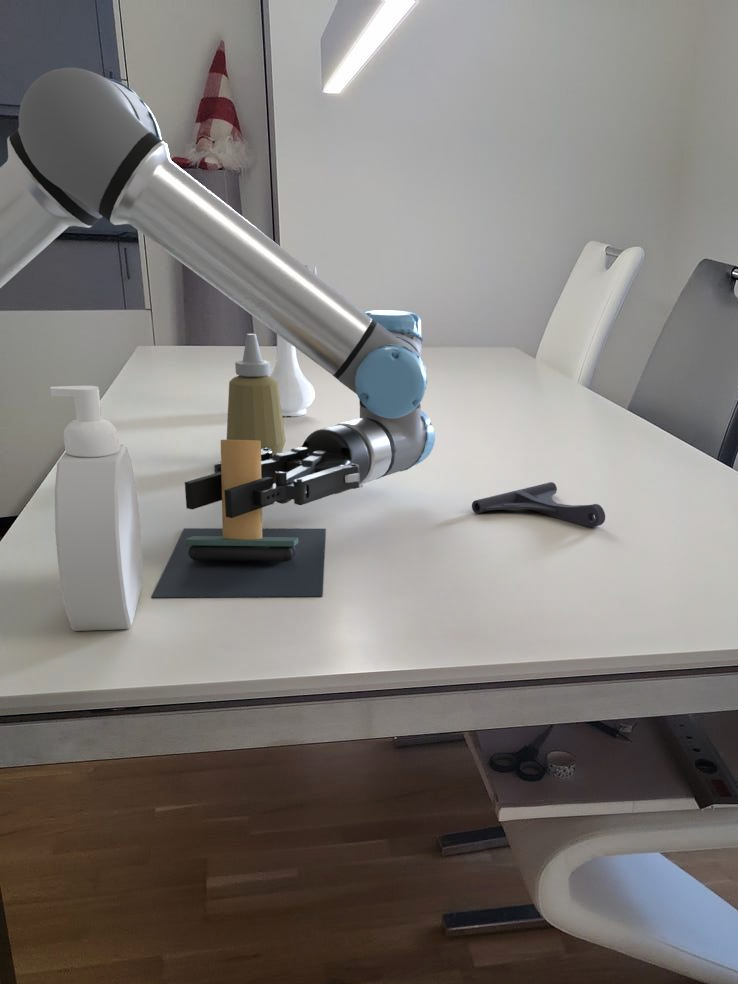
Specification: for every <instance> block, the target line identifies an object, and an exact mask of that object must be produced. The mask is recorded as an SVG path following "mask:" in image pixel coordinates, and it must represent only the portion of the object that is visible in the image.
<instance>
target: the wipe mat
mask: <svg viewBox="0 0 738 984" xmlns="http://www.w3.org/2000/svg"><path fill="white" fill-rule="evenodd" d="M326 531H327V528H279V527H278V528H267V527H266V528H265V527H264V528H263V527H262V537H298V543H297V544H296V545H295V546H294V547H295V549H296V553H295V556H294V557H293V558H292V559H291V560H289V561H206V560H193V559H191V558H190V557H189V555H188V550H189V548H190V547H191V546H193V545H184V540H185V539H187V538H190V537H192V536H223V527H221V528H217V527H216V528H215V527H213V528H211V527H209V528H207V527H205V528H203V527H202V528H201V527H200V528H199V527H197V528H195V527H193V528H191V527H190V528H189V527H187V528H186V527H185V528H183V529H182V532H181V534H180V535H179V538H178V540H177V542H176V544H175V546H174V549H173V550H172V553H171V555H170V557H169V558H168V561H167V563H166V565H165V568H164V569H163V571H162V573H161V576H160V578H159V580H158V581H157V584H156V586H155V589H154V591H153V592H152V595H151V599H198V598H199V599H200V598H201V599H204V598H205V599H209V598H210V599H212V598H215V599H216V598H219V599H220V598H223V599H224V598H323V595H324V593H323V592H324V573H325V553H326V552H325V551H326V536H327V535H326V533H327V532H326Z"/></svg>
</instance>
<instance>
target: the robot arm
mask: <svg viewBox="0 0 738 984" xmlns="http://www.w3.org/2000/svg"><path fill="white" fill-rule="evenodd" d="M6 143H7V156H8V157H7V161H5V163H3V164H2V165H1V166H0V289H2V287H3V286H5V285H6V284H7V283H8V282H10V280H11V279H12V278H14V277H15V276H16V275H17V274H18V273H19V272H20V271H21V270H22V269H24V267H26V266H27V265H28V264H30V262H31V261H32V260H34V259H35V258H36V257H37V256H38V255H39V254H40V253H41V252H42V251H44V250H45V249H46V248H47V247H48V246H49V245H50V244H51V243H52V242H53V241H54V240H56V239H57V238H58V237H59V236H60V235H61V234H63V232H64V231H66V230H67V229H68V228H69V227H80V228H87V229H89V228H92V227H93V226H94V225H95V224H97V222H98V221H99V220H101V219H102V218H104V219H105V220H107V221H108V222H109V223H111V224H112V225H114V226H119V225H130V226H132V227H133V228H134V229H136V230H137V231H138V232H139V233H141V234H142V235H144V236H145V237H146V238H148V239H149V240H150V241H152V242H153V243H155V245H157V246H158V247H160V248H161V249H163V250H164V251H165V252H166V253H168V254H169V255H170V256H172V257H173V258H175V260H177V261H178V262H180V263H181V264H183V265H184V266H186V268H188V269H189V270H191V271H192V272H193V273H195V274H196V275H197V276H199V277H200V278H201V279H203V280H204V281H206V282H207V283H208V284H209V285H211V286H212V287H213V288H215V289H216V290H217V291H219V292H220V293H222V294H223V295H224V296H226V297H227V298H228V299H229V300H231V301H232V302H233V303H235V304H236V305H238V306H239V307H240V308H242V309H243V310H244V311H246V312H247V313H248V314H250V315H251V316H252V317H253V318H255V319H256V320H257V321H259V322H260V323H262V324H263V325H264V326H266V327H267V328H269V329H270V330H271V331H272V332H274V334H276V335H277V334H278V335H279V336H281V337H282V338H283V339H285V340H286V341H287V342H289V343H290V344H291V345H293V346H294V347H295V348H296V350H298V351H300V352H301V353H302V354H304V356H306V357H307V358H309V359H310V360H312V361H313V362H314V363H316V364H317V365H319V366H320V367H321V368H322V369H323V370H325V371H326V372H328V373H329V375H331V376H333V377H334V378H335V379H336V380H337V381H338V382H340V383H341V384H343V386H345V387H346V388H347V389H349V390H350V391H352V392H353V393H354V394H356V395H357V398H358V399H359V418H355V419H351V420H347V421H343V422H340V423H337V424H335V425H331V426H327V427H324V428H320V429H316V430H314V431H313V432H311V433H310V434H309V435H308V436H307V437H306V438H305V440H304V442H303V444H302V445H301V446H299V447H293V448H291V450H289V451H284V452H283V451H282V453H277V454H274V455H273V452H271V449H270V448H264V449H261V479H258V480H255V481H252V482H249V483H246V484H242V485H239V486H236V487H233V488H230V489H226V490H224V493H225V509H226V517H229V518H234V517H237V516H240V515H242V514H245V513H248V512H251V511H254V510H257V509H260V508H262V509H263V508H265V507H268V506H271V505H274V504H275V503H278V504H281V505H283V504H287V503H289V502H290V501H292V500H293V504H294V505H297V506H303V505H307V504H309V503H311V502H316V501H318V500H321V499H323V498H327V497H329V496H332V495H338V494H341V493H344V492H347V491H349V490H356V489H360V488H363V487H364V484H367V483H370V482H373V481H376V480H378V479H381V478H383V477H386V476H390V475H393V474H396V473H398V472H399V473H400V472H401V473H402V472H405V471H407V470H409V469H412V468H413V467H415V466H417V465H419V464H420V463H421V462H423V461H424V460H426V459H427V458H428V457H429V456H430V455H431V453H432V451H433V449H434V445H435V442H436V433H435V428H434V427H433V424H432V422H431V419H430V418H429V416H428V414H426V413H425V412H424V411H423V410H422V406H421V402H422V401H423V399H424V397H425V394H426V391H427V384H428V372H427V367H426V365H425V363H424V362H423V358H422V349H423V347H422V346H423V345H422V344H423V338H424V337H423V335H422V319H421V318H420V315H418V314H417V313H415V312H411V311H406V310H405V311H404V310H391V309H388V310H387V309H377V310H376V309H375V310H367V311H365V312H364V311H363V310H362V309H360V308H359V307H358V306H357V305H355V303H353V302H351V300H350V299H348V298H346V297H345V296H344V295H343V294H341V292H339V291H338V290H336V289H335V288H334V287H332V286H331V285H330V284H329V283H327V282H326V281H325V280H323V279H322V278H321V277H320V276H319V275H316V274H315V273H313V272H314V271H312V270H311V269H310V268H309V269H308V268H307V267H306V266H304V265H305V264H303V263H302V262H301V261H299V260H298V259H297V258H296V257H295V256H293V255H292V254H291V253H290V252H288V251H287V250H285V248H283V247H282V246H281V245H279V244H278V243H276V242H275V241H274V240H273V239H271V238H270V237H269V236H267V234H265V233H264V232H262V230H260V229H259V228H257V226H255V225H254V224H252V223H251V222H250V221H249V220H248V219H246V218H245V217H243V216H242V215H241V214H240V213H239V212H237V211H236V210H234V209H233V208H232V207H231V206H230V205H229V204H227V203H226V202H224V200H222V199H221V198H220V197H218V196H217V195H216V194H215V193H213V192H212V191H211V190H209V189H207V188H206V186H204V185H203V184H201V183H200V182H199V181H198V180H197V179H195V178H194V177H192V176H191V175H190V174H189V173H187V171H185V170H184V169H183V168H181V167H180V166H179V165H177V163H175V162H174V161H172V158H171V156H170V151H169V147H168V143H166V142H165V141H163V139H162V135H161V130H160V127H159V124H158V122H157V119H156V117H155V116H154V114H153V112H152V110H151V109H150V107H149V106H148V105H147V103H145V101H144V100H143V99H142V98H141V97H140V96H138V94H137V93H136V92H135V91H134V90H133V89H131V88H130V87H129V86H127V85H126V84H125V83H123V82H120V81H118V80H115V79H114V78H113V79H112V78H108V77H104V76H103V75H100V74H98V73H96V72H93V71H91V70H87V69H84V68H78V67H62V68H55V69H53V70H50V71H48V72H46V73H43V74H42V75H41V76H39V77H37V78H36V80H34V81H33V82H32V83H31V84H30V85H29V87H28V88H27V90H26V92H25V93H24V95H23V97H22V100H21V103H20V105H19V112H18V128H16V129H15V131H13V132H12V133H11V134H10V135H9V136H8V137H7V138H6ZM213 469H214V473H212V474H211V473H210V474H208V475H204V476H201V477H197V478H195V479H194V478H193V479H189V480H187V481H184V492H185V493H184V494H185V504H186V507H185V508H186V509H187V510H192V511H193V510H196V509H199V508H203V507H205V506H207V505H211V504H214V503H217V502H220V501H221V502H222V479H221V462H217V463H215V464H214V465H213Z"/></svg>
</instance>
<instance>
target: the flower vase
mask: <svg viewBox="0 0 738 984" xmlns="http://www.w3.org/2000/svg"><path fill="white" fill-rule="evenodd" d="M303 265H304V266H306V267H307V268H308V269H309V270H310V267H309V266H308V265H306V264H303ZM312 272H313V273H315V274H316V275H317V274H318V272H317V266H316V265H315V266H314V268H313V271H312ZM317 276H318V275H317ZM276 341H277V342H276V359H275V365H274V367H273V371H272V373H271V374H270V375H269V377H272V378H274V379H275V380H276V381H277V382H278V388H279V396H280V403H281V410H282V417H287V416H291V417H300V416H304V415H306V414H307V408H309V407H311V405H312V403H313V402H314V401H315V398H316V391H315V388H314V386H313V384H312V383H311V382H310V381H309V380H308V379H307V378H306V376H305V375H304V374H303V372H302V370H301V367H300V365H299V362H298V355H297V348H295V347H294V346H293V345H291V344H290V343H289V342H287V341H286V340H285V339H283V338H282V337H281V336H279V335H278V334H277V333H276Z"/></svg>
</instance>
